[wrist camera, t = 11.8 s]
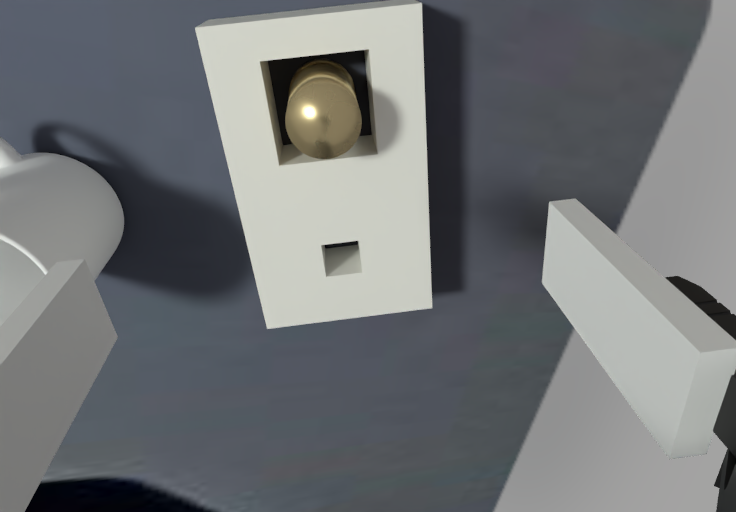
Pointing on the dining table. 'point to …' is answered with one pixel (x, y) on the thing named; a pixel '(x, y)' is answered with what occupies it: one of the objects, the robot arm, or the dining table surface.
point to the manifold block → (328, 164)
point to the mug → (51, 220)
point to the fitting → (322, 110)
